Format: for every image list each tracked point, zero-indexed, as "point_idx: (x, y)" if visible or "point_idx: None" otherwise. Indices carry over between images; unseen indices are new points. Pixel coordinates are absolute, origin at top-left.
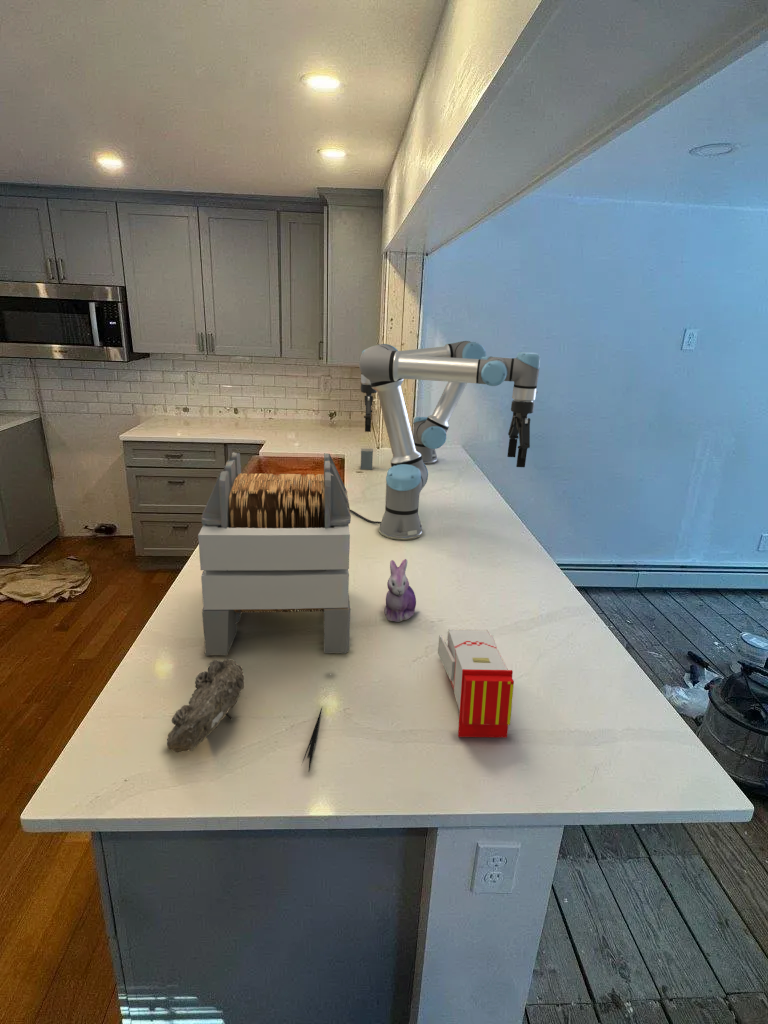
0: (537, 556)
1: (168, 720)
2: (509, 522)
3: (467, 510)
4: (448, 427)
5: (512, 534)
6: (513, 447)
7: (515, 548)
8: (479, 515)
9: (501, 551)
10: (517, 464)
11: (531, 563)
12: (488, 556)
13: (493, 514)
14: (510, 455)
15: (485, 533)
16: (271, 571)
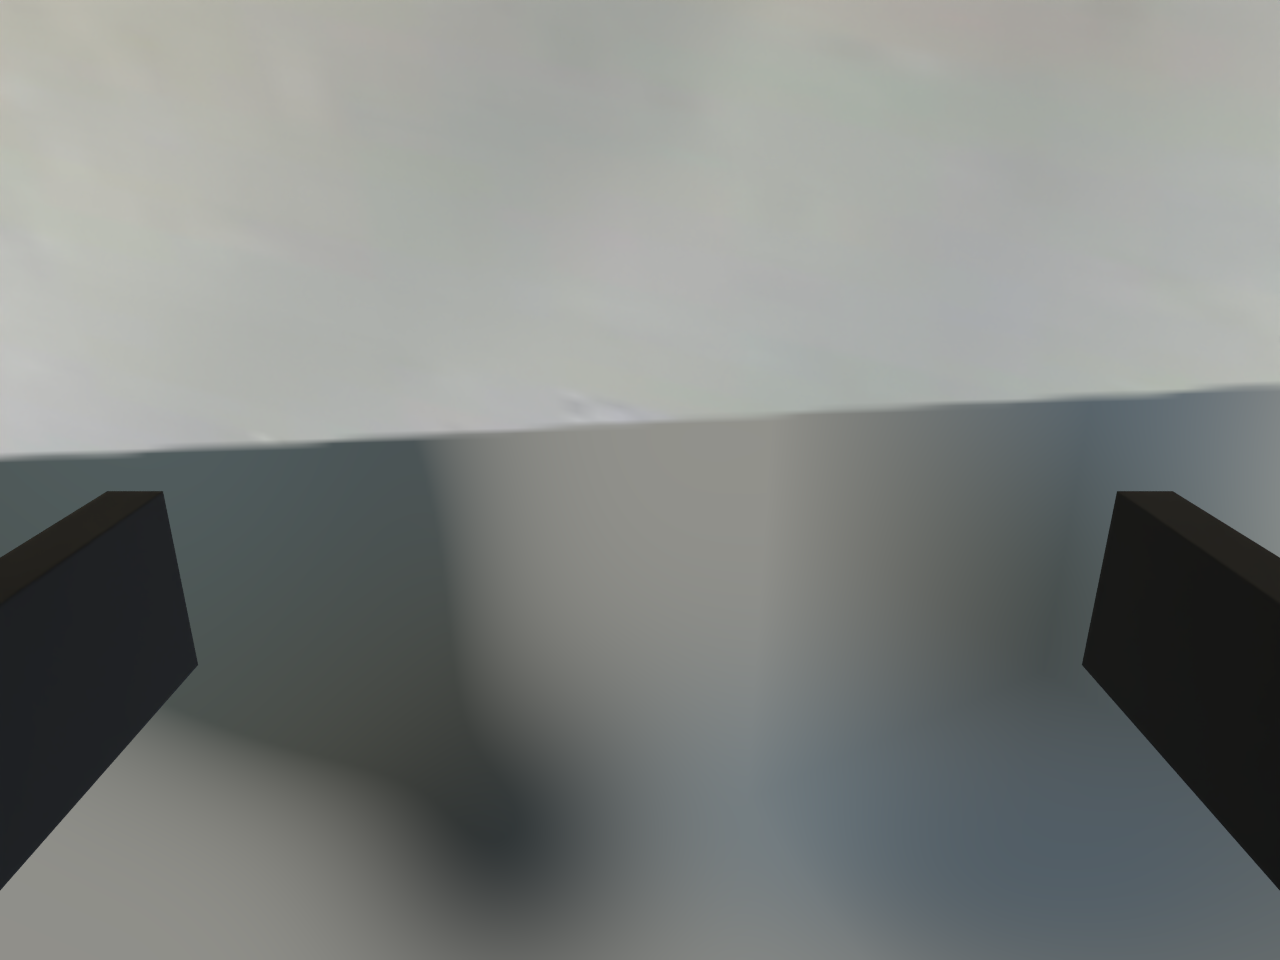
0: (169, 422)
1: None
2: (870, 374)
3: (1221, 9)
4: None
5: (589, 335)
6: (1265, 763)
7: (287, 289)
8: (1063, 119)
9: (195, 153)
10: (70, 526)
11: (22, 344)
12: (55, 6)
13: (1080, 270)
14: (1128, 572)
15: (587, 87)
16: None
